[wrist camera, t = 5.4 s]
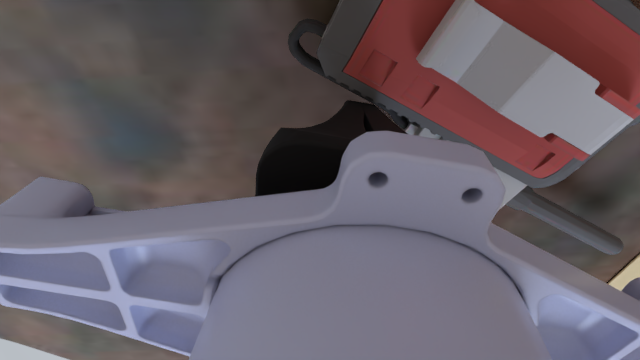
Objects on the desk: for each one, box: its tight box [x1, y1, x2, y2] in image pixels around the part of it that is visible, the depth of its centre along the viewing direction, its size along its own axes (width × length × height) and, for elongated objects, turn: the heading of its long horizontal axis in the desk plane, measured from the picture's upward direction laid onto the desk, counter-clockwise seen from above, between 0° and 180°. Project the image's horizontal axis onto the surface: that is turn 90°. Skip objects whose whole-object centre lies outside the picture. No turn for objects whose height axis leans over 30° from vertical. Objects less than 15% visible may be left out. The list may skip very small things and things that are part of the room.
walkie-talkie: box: [288, 0, 640, 255], centre depth 13 cm, size 9×4×20 cm
